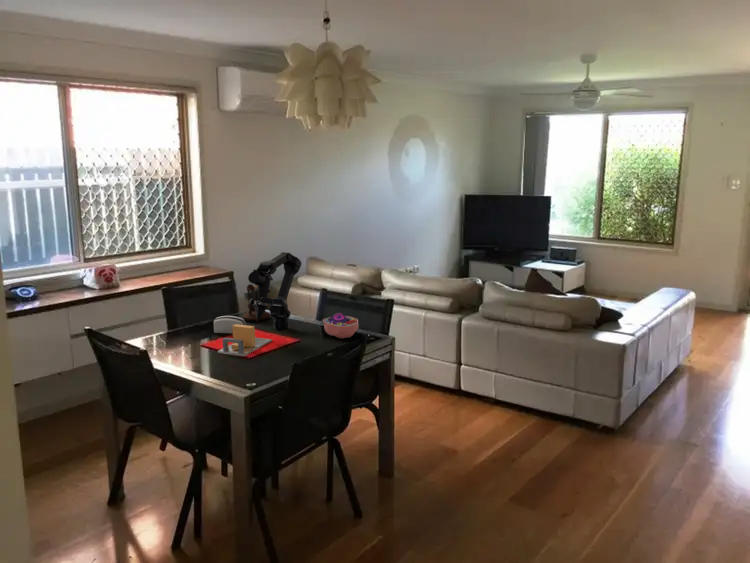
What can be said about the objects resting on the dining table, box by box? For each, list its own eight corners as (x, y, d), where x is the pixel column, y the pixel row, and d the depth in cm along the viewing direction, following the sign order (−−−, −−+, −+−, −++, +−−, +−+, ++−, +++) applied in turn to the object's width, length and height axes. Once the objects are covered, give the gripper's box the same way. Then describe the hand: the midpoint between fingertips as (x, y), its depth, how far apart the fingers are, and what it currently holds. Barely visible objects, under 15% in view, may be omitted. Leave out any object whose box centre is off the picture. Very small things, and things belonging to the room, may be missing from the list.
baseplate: (247, 338, 312) (246, 325, 310) (272, 341, 307) (271, 327, 305) (218, 353, 290) (217, 338, 289) (244, 356, 285) (243, 342, 284)
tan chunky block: (237, 342, 300) (236, 324, 298) (255, 345, 297) (254, 326, 295) (226, 348, 292) (224, 329, 290) (244, 350, 289) (243, 331, 287)
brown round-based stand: (257, 324, 336) (255, 287, 332) (237, 320, 344) (235, 284, 340) (276, 318, 348) (274, 282, 344) (256, 314, 356) (254, 279, 352)
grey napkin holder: (248, 330, 325) (245, 314, 319) (246, 336, 321) (242, 320, 315) (217, 329, 327) (213, 313, 322) (214, 335, 323) (210, 319, 318)
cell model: (328, 344, 302) (328, 321, 300) (320, 332, 321) (319, 310, 318) (363, 341, 307) (362, 318, 304) (352, 329, 325) (352, 308, 323)
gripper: (241, 285, 314) (235, 316, 311) (254, 282, 298) (248, 315, 295) (262, 290, 319) (257, 321, 317) (276, 287, 303) (270, 320, 301)
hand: (257, 319), depth 307 cm, fingers closed
